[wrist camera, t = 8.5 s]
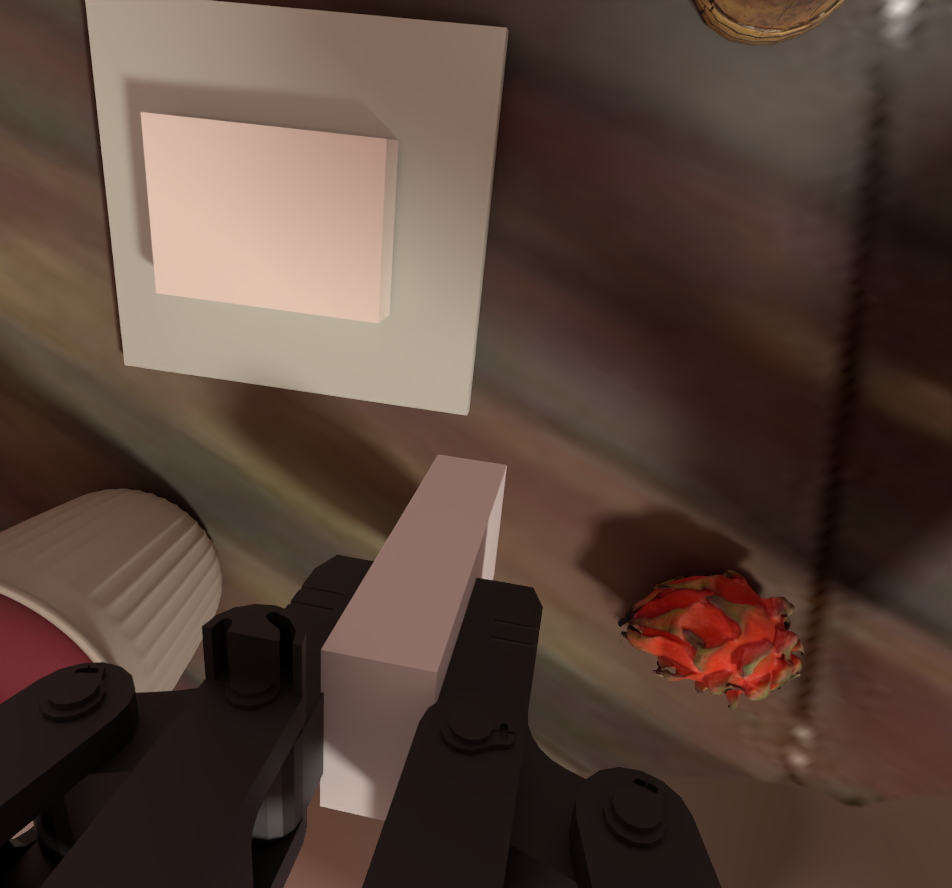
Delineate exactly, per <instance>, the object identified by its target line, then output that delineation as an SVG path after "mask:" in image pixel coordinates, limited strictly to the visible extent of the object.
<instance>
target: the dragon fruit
mask: <svg viewBox="0 0 952 888" xmlns="http://www.w3.org/2000/svg"><path fill="white" fill-rule="evenodd" d="M655 589H656V590H655ZM652 590H654V591H653V592H652V593H650V594H649V595H648V596H647V597H646V598H644V599H643V600H641V601H639V602H637V603H635V604H634V605H633V606H632V607H631V608H630V609H629V610H628V612H627V613H626V615H625V618H622V619H620V620H619V622H618V625H619V626H620V627H621V626H622V625H624V624H625V623H626V622H628V621H629V620H630V621H629V623H630V624H636V626H637V629H638V630H639V631H642V634H641V633H640V632H639V631H638V630H637V629H635V628H634V627H633V626H632V625H628V628H627V632H623V631H622V633H621V635H622V634H623V637H625V638H626V639H627V640H628V641H629V643H630V644H631V645H632V646H633V647H635V648H637V649H639V650H641V651H644V652H648V653H651V654H653V655H655V656H658V662H657V665H658V669H657V670H653V673H654V674H656V675H658V676H660V677H664V678H665V679H667V680H669V681H677V680H682V679H684V678H687V679H693V680H696V681H695V689H696V690H697V692H698V693H702V692H704V691H706V690H707V689H709V691H710V693H711V694H713V695H714V696H722V695H724V694H726V696H727V699H728V702H729V706H728V707H729V708H731V709H736V708H738V705H739V695H740V694H741V693H743V692H744V693H745V695H746V696H747V697H748V698H749V699H751V700H764V699H765V698H767V697H768V696H769V695H770V690H779V689H781V687H782V686H784V685H785V684H786V683H787V682H789V681H790V680H791V679H793V678H795V677H798V676H800V673H799V671H801V661H800V659H799V658H798V657H797V656H795V655H793V654H792V652H793V651H796V650H800V651H801V654H802V658H803V654H804V653H805V652H804V649H803V645H802V642H801V641H800V640H799V639H798V637H799V636H798V635H796V634H795V633H793V632H790V631H788V630H789V628H790V624H791V621H790V620H789V619H788V618H787V617H789V616H790V615H791V614H792V613H793V611H794V609H795V606H794V605H793V604H791V603H789V602H788V601H787V599H786V598H784V597H776V598H775V597H771V598H769V599H764V598H760V596H759V595H758V594H757V593H755V592H754V590H753V589H752V588H751V587H750V586H749V585H748V583H747V580H746V579H745V578H744V577H743V576H742V575H740V574H738V573H737V572H736V571H734V570H725V573H723V575H712V576H691V577H686V578H684V576H679V577H677V578H675V579H671V580H668V581H666V582H663V583H660V584H656V585H655V587H654V588H653V589H652ZM633 616H634V618H632V617H633ZM621 635H620V636H621ZM620 642H621V641H620ZM619 645H620V644H619ZM664 667H670V668H676V674H672V673H670V672H669V671H668V670H665V668H664Z"/></svg>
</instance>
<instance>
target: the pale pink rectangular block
mask: <svg viewBox="0 0 952 888" xmlns="http://www.w3.org/2000/svg"><path fill="white" fill-rule="evenodd" d="M141 123H142V135H143V146H144V158H145V170H146V182H147V193H148V205H149V217H150V228H151V240H152V252H153V263H154V275H155V287H156V293H158V294H166V295H173V296H180V297H188V298H195V299H202V300H210V301H217V302H225V303H232V304H239V305H247V306H254V307H261V308H269V309H276V310H283V311H291V312H298V313H305V314H313V315H320V316H327V317H335V318H342V319H349V320H357V321H364V322H371V323H380V322H381V321H382V320H384V319H385V318H386V317H387V316H389V315H390V297H391V277H392V258H393V238H394V218H395V199H396V179H397V159H398V140H391V139H383V138H374V137H365V136H356V135H347V134H337V133H328V132H319V131H310V130H301V129H292V128H283V127H274V126H264V125H255V124H246V123H237V122H228V121H219V120H210V119H200V118H191V117H182V116H173V115H164V114H155V113H146V112H141Z"/></svg>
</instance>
